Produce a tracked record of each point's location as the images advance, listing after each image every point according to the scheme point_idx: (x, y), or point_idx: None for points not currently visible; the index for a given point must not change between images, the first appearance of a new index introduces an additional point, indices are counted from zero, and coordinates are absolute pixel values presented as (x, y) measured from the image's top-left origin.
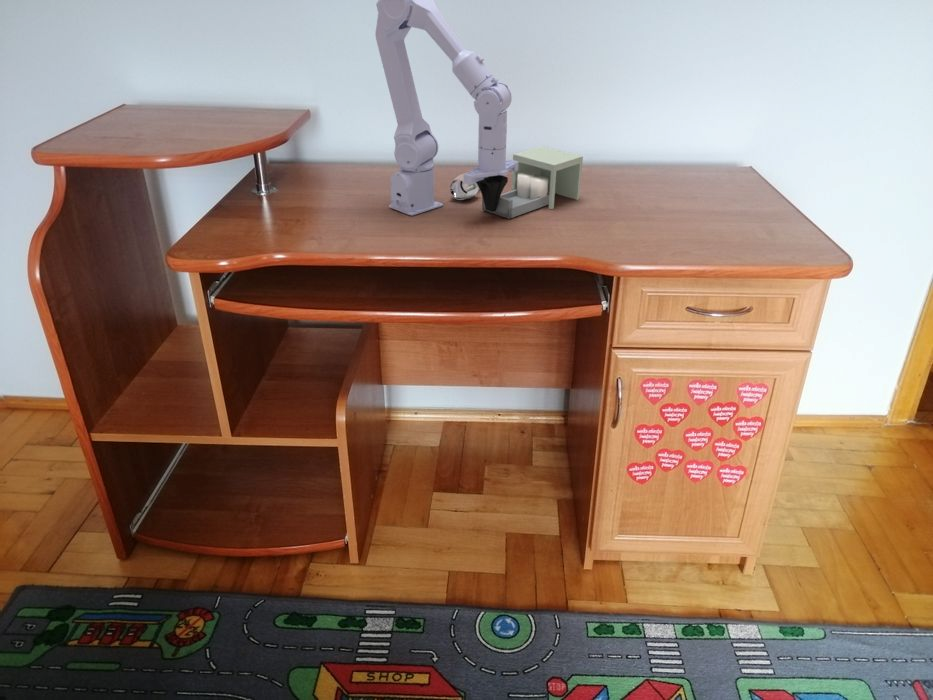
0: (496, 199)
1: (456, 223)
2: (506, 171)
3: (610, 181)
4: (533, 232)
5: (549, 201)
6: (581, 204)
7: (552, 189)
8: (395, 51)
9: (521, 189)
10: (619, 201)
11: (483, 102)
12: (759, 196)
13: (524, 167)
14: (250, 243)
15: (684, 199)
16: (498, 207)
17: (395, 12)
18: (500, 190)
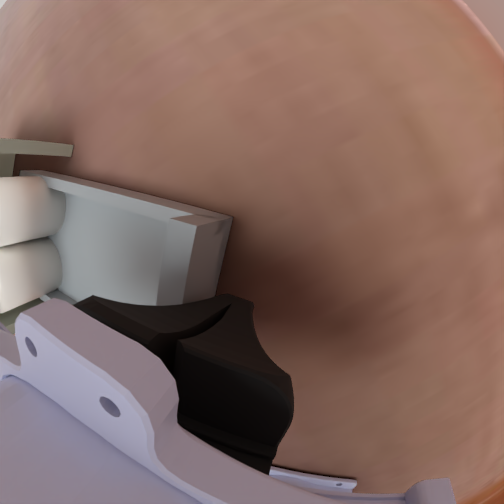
0: (218, 311)
1: (371, 383)
2: (44, 335)
3: None
4: (308, 60)
5: (53, 153)
6: (32, 112)
7: (19, 140)
8: None
9: (39, 274)
10: (15, 74)
11: None
12: (7, 3)
13: None
14: (496, 498)
15: (9, 28)
16: (204, 292)
17: None
18: (174, 316)
